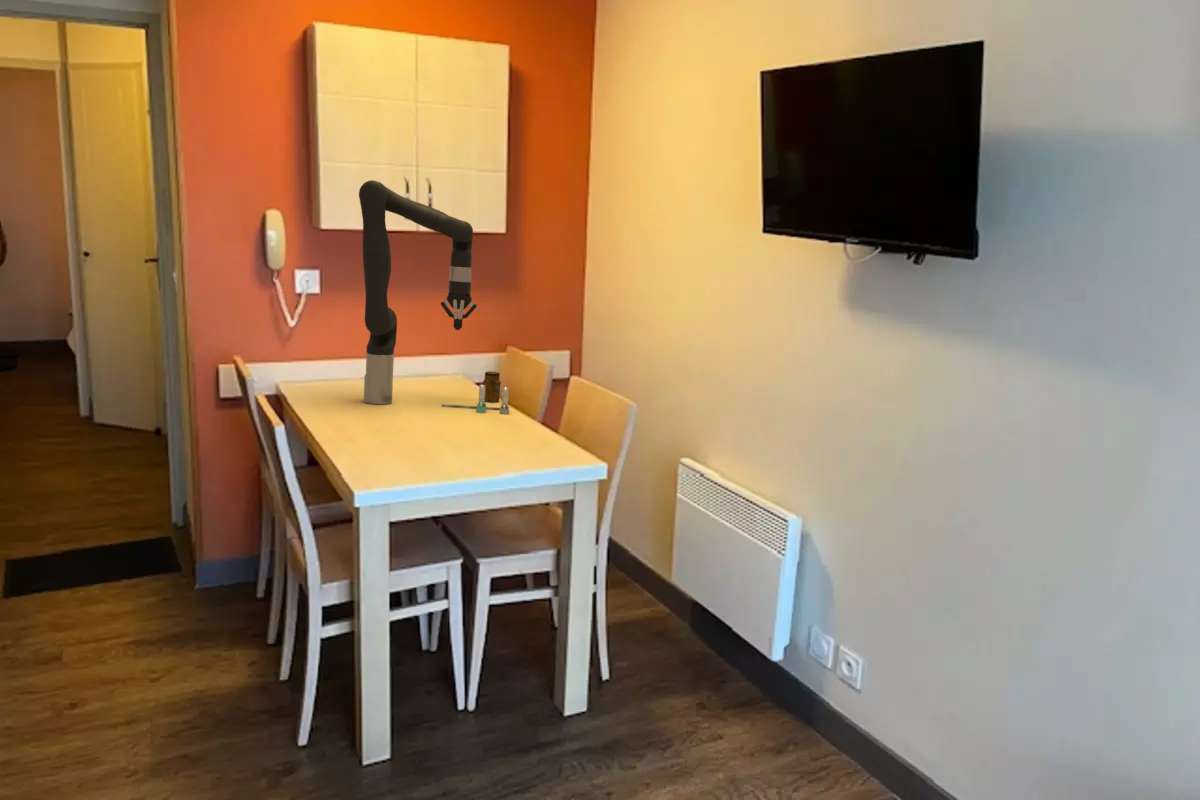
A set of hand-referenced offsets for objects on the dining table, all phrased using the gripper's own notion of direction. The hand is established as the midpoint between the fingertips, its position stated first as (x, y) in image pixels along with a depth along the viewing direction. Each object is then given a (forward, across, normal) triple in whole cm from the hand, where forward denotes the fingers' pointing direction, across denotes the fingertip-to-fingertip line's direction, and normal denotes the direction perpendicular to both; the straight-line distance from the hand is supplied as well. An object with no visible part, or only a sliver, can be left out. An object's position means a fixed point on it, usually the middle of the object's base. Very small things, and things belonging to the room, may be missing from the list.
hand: (457, 329), depth 326 cm
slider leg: (+26, +10, -14) cm, 31 cm away
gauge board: (+27, +8, -15) cm, 32 cm away
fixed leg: (+26, +18, -13) cm, 34 cm away
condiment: (+27, +13, +4) cm, 31 cm away
